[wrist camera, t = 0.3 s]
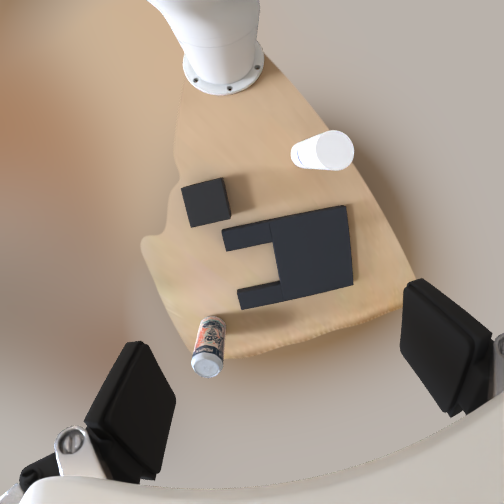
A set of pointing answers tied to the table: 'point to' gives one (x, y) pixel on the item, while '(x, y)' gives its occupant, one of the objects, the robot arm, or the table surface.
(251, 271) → the table surface
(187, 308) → the table surface
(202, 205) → the black block
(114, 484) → the robot arm
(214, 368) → the beer can
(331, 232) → the dark blue flat slab
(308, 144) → the tube
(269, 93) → the table surface
